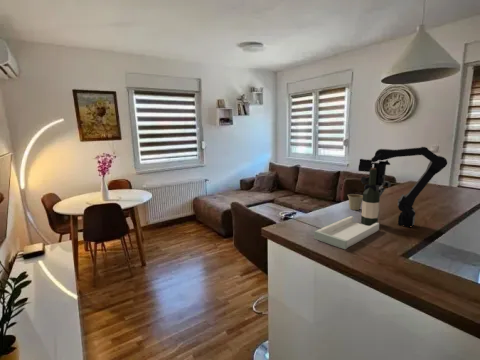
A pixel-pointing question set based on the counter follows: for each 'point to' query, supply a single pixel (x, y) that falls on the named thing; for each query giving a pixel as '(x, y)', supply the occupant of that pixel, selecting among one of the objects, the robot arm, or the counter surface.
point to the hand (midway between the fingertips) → (376, 200)
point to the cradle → (345, 233)
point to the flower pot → (355, 201)
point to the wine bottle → (370, 202)
